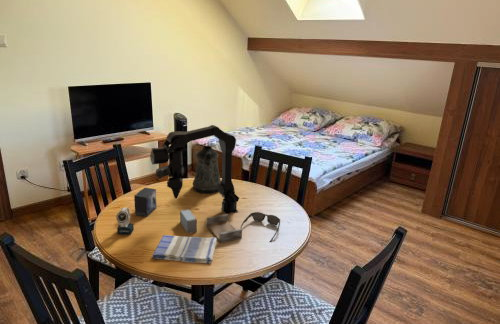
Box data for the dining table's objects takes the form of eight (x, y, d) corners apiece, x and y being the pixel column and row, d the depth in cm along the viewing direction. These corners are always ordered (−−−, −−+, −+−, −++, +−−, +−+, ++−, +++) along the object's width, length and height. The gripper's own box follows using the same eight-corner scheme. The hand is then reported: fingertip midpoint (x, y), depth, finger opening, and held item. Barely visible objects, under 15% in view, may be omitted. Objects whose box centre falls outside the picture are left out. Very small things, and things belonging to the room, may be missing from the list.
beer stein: (212, 181, 210) (213, 141, 202) (229, 192, 195) (231, 150, 187) (187, 186, 200) (187, 144, 192) (203, 198, 185) (204, 154, 178)
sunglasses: (282, 225, 162) (283, 216, 160) (272, 247, 147) (273, 237, 145) (249, 218, 167) (250, 209, 165) (236, 238, 152) (236, 229, 150)
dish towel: (212, 265, 130) (212, 259, 129) (150, 261, 131) (150, 254, 130) (218, 241, 147) (218, 235, 146) (163, 237, 148) (163, 231, 147)
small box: (147, 217, 162) (146, 197, 159) (134, 215, 163) (133, 195, 160) (157, 208, 172) (156, 188, 169) (145, 206, 173) (144, 187, 170)
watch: (116, 236, 145) (114, 213, 142) (122, 227, 153) (120, 204, 149) (129, 237, 145) (127, 213, 142) (135, 227, 153) (133, 205, 149)
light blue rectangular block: (188, 220, 161) (188, 209, 159) (196, 231, 152) (196, 219, 150) (180, 222, 160) (180, 210, 158) (187, 233, 150) (187, 221, 148)
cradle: (226, 221, 162) (227, 214, 161) (241, 237, 149) (242, 229, 148) (206, 225, 158) (206, 217, 156) (220, 242, 145) (220, 234, 143)
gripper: (159, 154, 158) (160, 186, 163) (153, 168, 140) (155, 203, 145) (183, 154, 159) (184, 185, 164) (181, 168, 142) (182, 202, 147)
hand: (176, 194), depth 155 cm, fingers open, 9 cm apart
